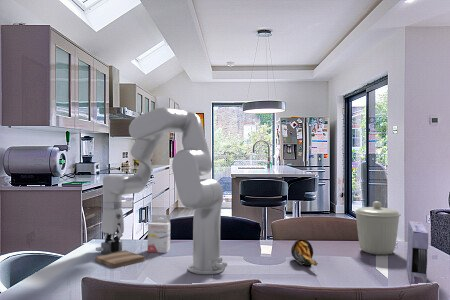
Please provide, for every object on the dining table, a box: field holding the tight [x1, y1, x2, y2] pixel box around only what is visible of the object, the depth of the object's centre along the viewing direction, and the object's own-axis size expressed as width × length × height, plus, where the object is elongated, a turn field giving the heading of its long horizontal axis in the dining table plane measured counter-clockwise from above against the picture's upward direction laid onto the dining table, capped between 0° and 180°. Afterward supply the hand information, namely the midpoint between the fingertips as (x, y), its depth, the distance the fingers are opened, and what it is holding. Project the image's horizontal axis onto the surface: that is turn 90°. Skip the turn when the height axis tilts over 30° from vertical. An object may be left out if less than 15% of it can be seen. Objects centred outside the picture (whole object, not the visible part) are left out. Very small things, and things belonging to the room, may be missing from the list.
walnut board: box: [94, 250, 146, 269], centre depth 146 cm, size 13×13×2 cm
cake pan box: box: [406, 220, 429, 285], centre depth 126 cm, size 19×5×18 cm, turn 158°
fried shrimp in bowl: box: [290, 238, 319, 267], centre depth 143 cm, size 9×11×18 cm
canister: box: [354, 200, 402, 256], centre depth 161 cm, size 18×18×21 cm
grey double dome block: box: [95, 239, 123, 255], centre depth 158 cm, size 4×11×4 cm, turn 137°
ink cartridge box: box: [147, 214, 171, 254], centre depth 160 cm, size 9×5×15 cm, turn 84°
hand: (111, 249), depth 159 cm, fingers closed on grey double dome block, 4 cm apart
